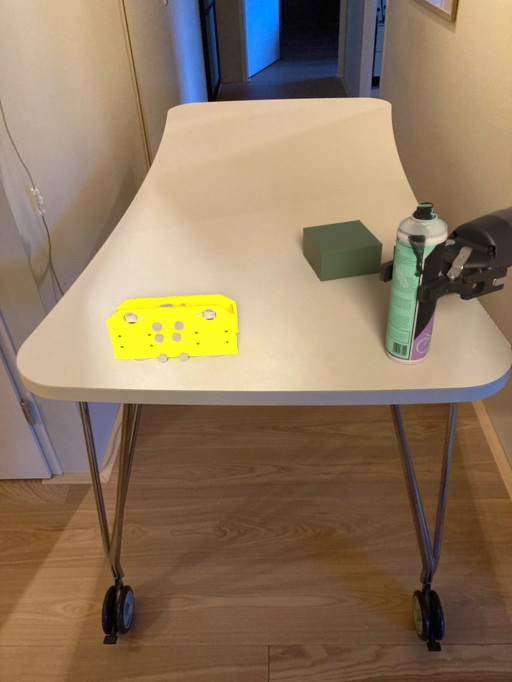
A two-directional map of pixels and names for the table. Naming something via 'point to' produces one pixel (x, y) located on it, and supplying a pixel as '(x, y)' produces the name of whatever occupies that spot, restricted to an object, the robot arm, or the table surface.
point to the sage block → (341, 250)
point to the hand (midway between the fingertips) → (401, 284)
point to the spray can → (414, 285)
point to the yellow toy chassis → (174, 327)
